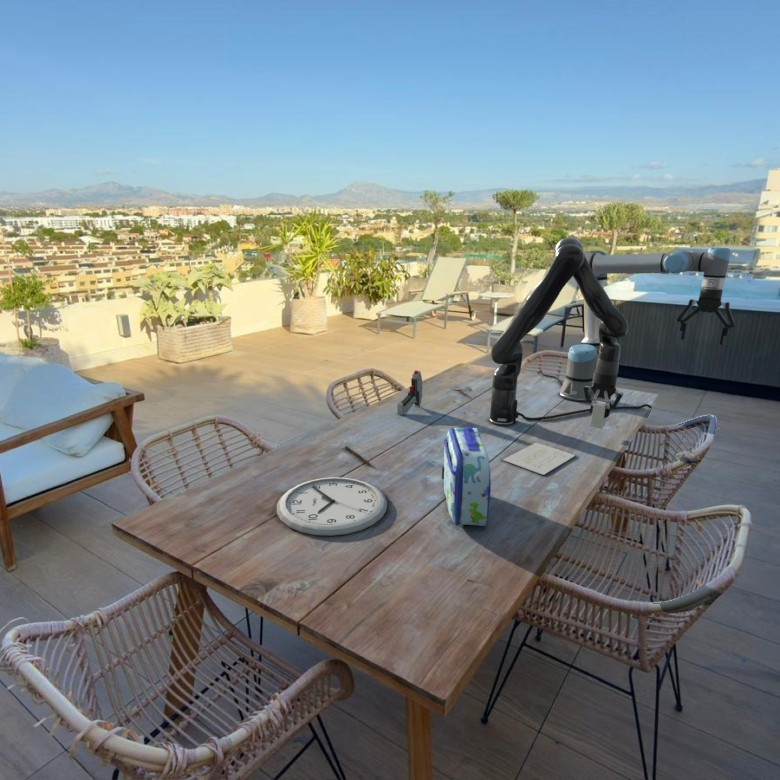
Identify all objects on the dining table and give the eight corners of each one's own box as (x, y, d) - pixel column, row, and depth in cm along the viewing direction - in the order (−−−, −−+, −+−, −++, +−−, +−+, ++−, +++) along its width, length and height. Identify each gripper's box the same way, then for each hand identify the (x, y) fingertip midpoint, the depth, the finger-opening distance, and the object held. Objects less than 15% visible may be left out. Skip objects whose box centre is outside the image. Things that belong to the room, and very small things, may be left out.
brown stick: (344, 448, 179) (344, 445, 179) (346, 448, 179) (346, 445, 179) (367, 464, 167) (367, 462, 167) (368, 464, 167) (368, 461, 167)
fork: (463, 397, 236) (463, 392, 235) (450, 386, 250) (450, 382, 250) (468, 396, 236) (469, 392, 236) (455, 386, 251) (455, 382, 250)
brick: (590, 426, 194) (593, 404, 191) (593, 422, 198) (597, 400, 195) (601, 429, 192) (605, 406, 189) (604, 425, 196) (608, 403, 193)
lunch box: (439, 484, 155) (443, 418, 149) (476, 485, 155) (480, 418, 149) (448, 533, 130) (452, 456, 124) (491, 534, 130) (497, 457, 124)
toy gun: (396, 378, 207) (417, 368, 219) (397, 416, 213) (418, 404, 224) (401, 379, 206) (422, 369, 217) (402, 417, 212) (422, 405, 223)
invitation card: (535, 442, 186) (575, 454, 176) (535, 442, 187) (575, 455, 176) (502, 459, 172) (543, 474, 162) (502, 460, 172) (543, 475, 162)
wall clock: (392, 527, 129) (268, 531, 127) (391, 533, 130) (269, 537, 127) (383, 473, 158) (282, 475, 155) (383, 478, 158) (282, 480, 156)
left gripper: (583, 369, 189) (576, 414, 195) (624, 377, 181) (616, 423, 187) (589, 365, 195) (582, 408, 200) (629, 372, 187) (622, 417, 193)
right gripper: (674, 286, 209) (665, 338, 215) (749, 291, 195) (736, 347, 201) (678, 285, 215) (669, 335, 221) (750, 290, 200) (738, 344, 207)
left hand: (599, 415), depth 194 cm, fingers closed on brick, 4 cm apart
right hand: (701, 341), depth 211 cm, fingers open, 13 cm apart
